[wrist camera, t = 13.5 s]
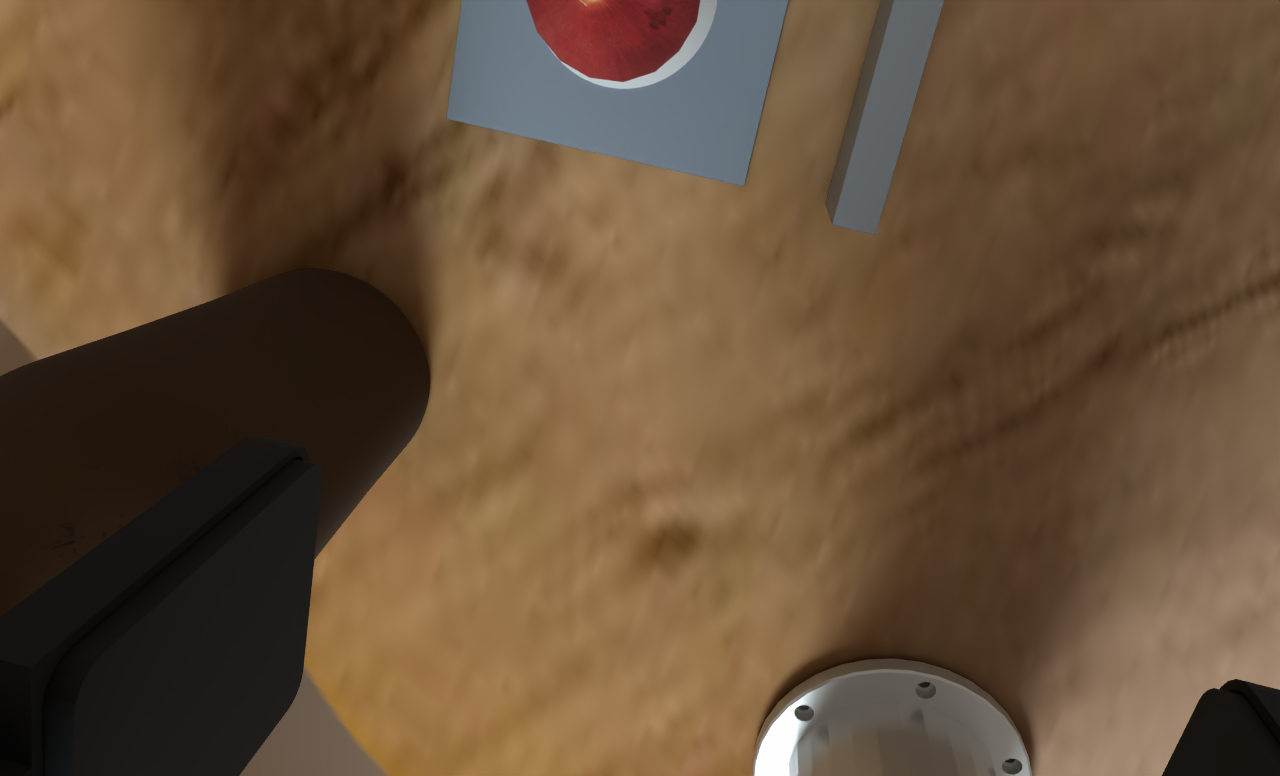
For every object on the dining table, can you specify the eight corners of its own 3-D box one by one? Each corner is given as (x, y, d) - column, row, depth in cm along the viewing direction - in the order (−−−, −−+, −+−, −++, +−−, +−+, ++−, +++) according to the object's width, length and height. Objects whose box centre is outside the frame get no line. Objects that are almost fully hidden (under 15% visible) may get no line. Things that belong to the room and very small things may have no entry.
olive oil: (277, 203, 41) (-384, 408, 18) (488, 346, 42) (124, 722, 19) (178, 395, 45) (-479, 777, 21) (374, 523, 46) (-51, 1025, 22)
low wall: (863, 212, 38) (875, 234, 33) (825, 203, 38) (832, 224, 33) (960, -128, 34) (989, -156, 29) (917, -136, 34) (939, -166, 29)
